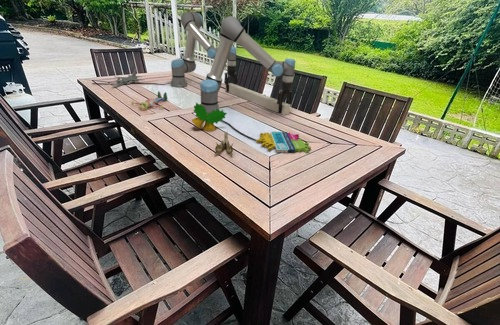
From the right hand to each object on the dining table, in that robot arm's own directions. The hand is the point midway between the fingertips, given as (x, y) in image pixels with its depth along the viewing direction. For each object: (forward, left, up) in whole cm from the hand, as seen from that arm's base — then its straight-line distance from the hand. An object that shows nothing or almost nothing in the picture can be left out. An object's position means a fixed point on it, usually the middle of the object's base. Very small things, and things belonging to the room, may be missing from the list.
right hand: (282, 112), depth 201 cm
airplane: (+98, +121, -1) cm, 156 cm away
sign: (-51, +21, -1) cm, 56 cm away
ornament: (-25, +60, -1) cm, 65 cm away
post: (+31, +14, 0) cm, 34 cm away
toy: (+27, +95, -1) cm, 99 cm away
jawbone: (-57, +56, -1) cm, 80 cm away
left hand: (+63, +28, 0) cm, 69 cm away
